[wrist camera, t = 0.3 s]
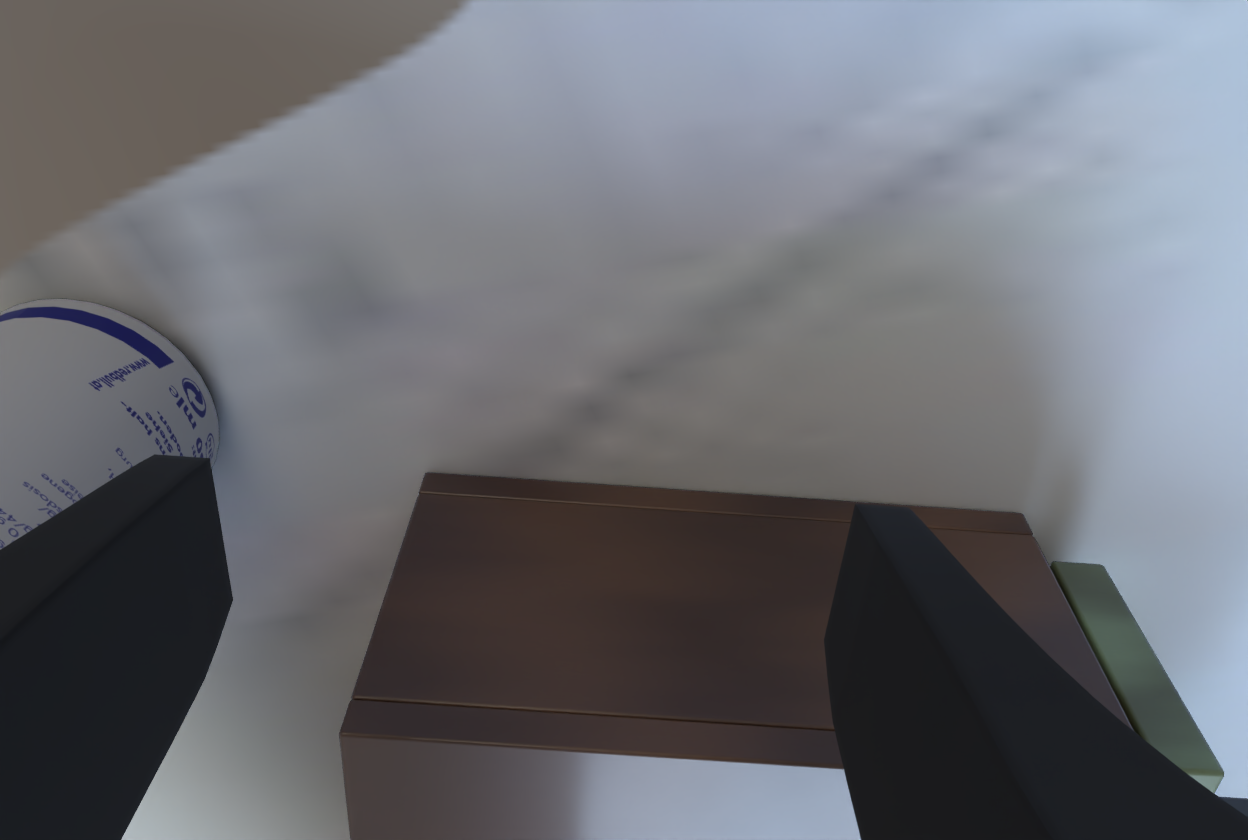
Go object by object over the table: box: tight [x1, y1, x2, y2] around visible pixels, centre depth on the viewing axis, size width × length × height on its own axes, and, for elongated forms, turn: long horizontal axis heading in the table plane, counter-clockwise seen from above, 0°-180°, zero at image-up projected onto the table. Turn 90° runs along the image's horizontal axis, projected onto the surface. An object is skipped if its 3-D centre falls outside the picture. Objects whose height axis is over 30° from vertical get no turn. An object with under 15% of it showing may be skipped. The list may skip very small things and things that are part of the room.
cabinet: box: [339, 473, 1134, 840], centre depth 24 cm, size 14×14×8 cm
